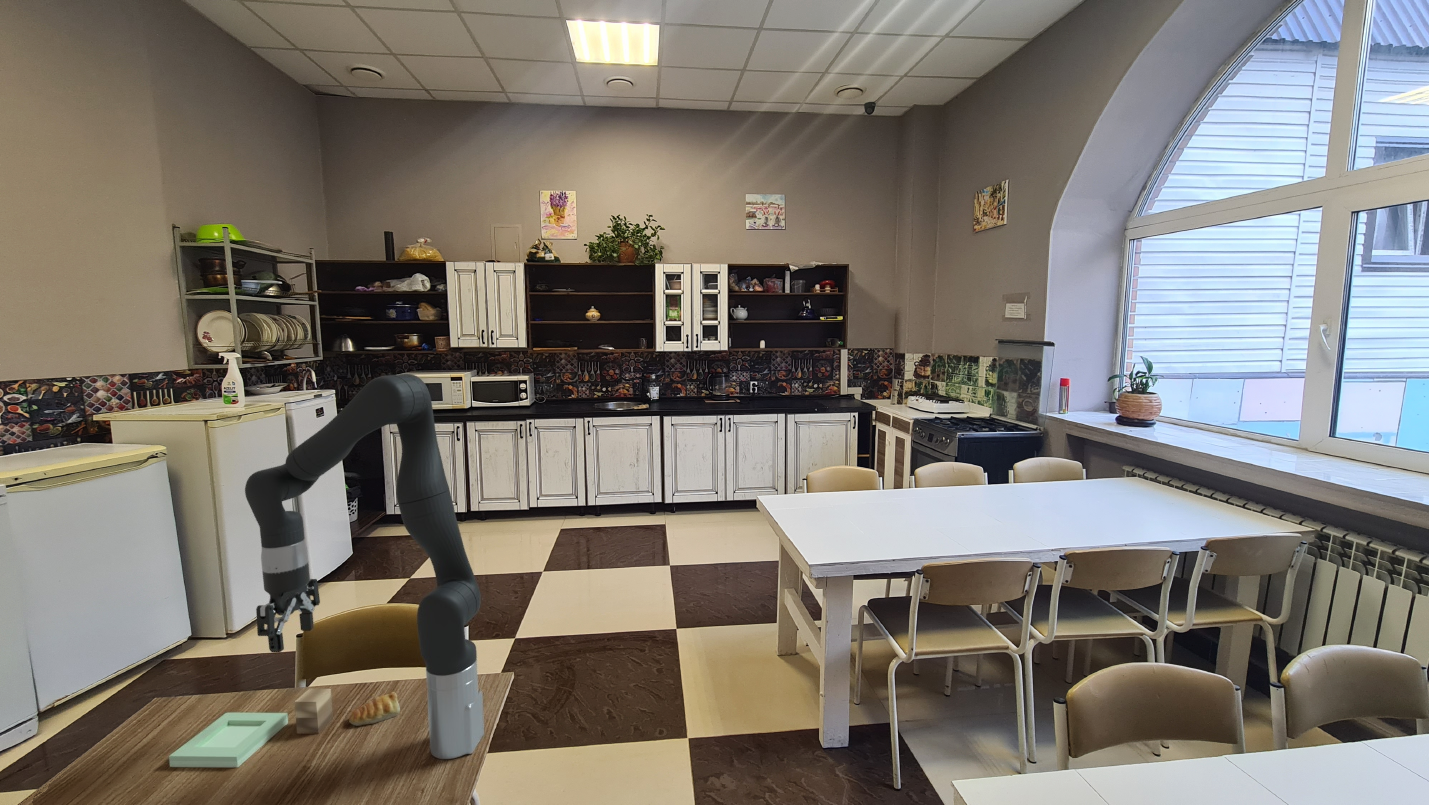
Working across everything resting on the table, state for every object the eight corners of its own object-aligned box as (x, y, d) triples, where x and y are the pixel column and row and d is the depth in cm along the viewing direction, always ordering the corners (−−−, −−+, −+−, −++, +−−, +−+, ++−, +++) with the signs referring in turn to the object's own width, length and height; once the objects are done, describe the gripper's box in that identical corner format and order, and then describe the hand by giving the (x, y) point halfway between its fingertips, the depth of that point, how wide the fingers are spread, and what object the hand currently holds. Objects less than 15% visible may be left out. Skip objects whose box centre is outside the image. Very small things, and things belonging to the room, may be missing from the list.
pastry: (352, 734, 120) (350, 716, 120) (347, 718, 125) (346, 701, 125) (402, 715, 126) (401, 699, 126) (395, 701, 131) (394, 685, 131)
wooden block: (332, 719, 125) (330, 688, 124) (318, 733, 120) (316, 701, 119) (312, 719, 125) (309, 688, 124) (297, 733, 120) (294, 701, 119)
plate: (288, 722, 123) (287, 713, 123) (237, 767, 110) (236, 756, 110) (227, 722, 124) (226, 712, 123) (170, 766, 111) (168, 756, 110)
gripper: (277, 578, 110) (285, 659, 112) (327, 551, 124) (333, 623, 126) (238, 578, 110) (246, 659, 112) (292, 551, 124) (299, 624, 126)
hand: (292, 640), depth 119 cm, fingers open, 8 cm apart
